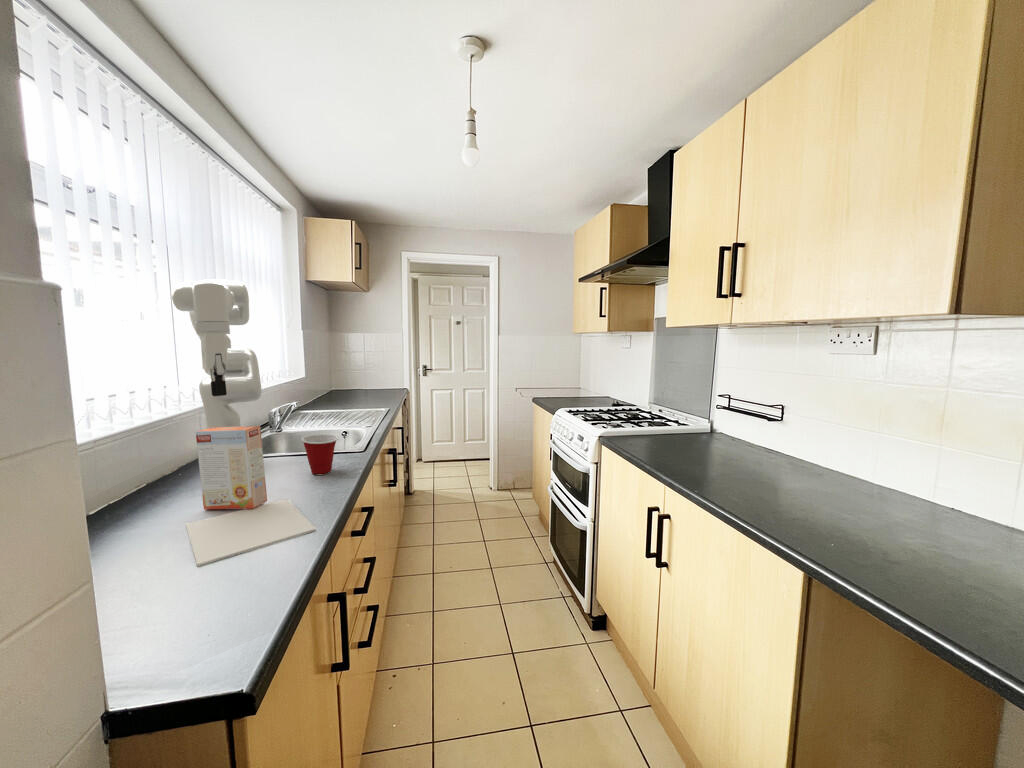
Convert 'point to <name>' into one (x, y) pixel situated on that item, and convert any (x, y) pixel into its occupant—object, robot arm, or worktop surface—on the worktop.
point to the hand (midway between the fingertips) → (219, 395)
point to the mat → (245, 530)
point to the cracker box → (231, 467)
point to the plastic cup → (320, 452)
